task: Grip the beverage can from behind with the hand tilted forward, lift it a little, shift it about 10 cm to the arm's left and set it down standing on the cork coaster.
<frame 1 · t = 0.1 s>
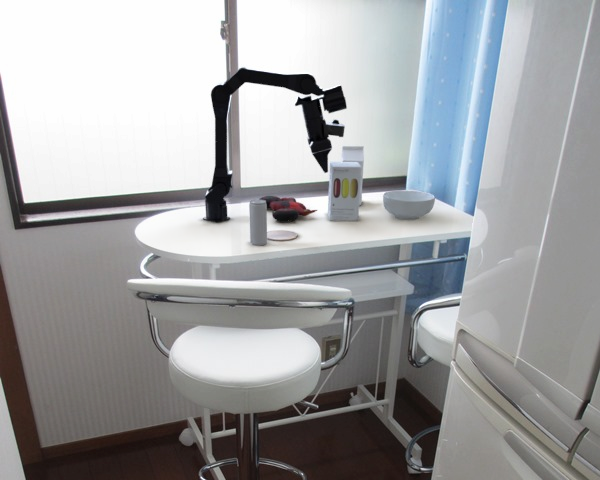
hand: (325, 169, 214), 15 cm above the table, tool pointing down, fingers open, 9 cm apart
cereal bowl: (407, 217, 225), on the table
toy motorcycle: (288, 213, 228), on the table
cork coaster: (280, 236, 204), on the table
milk carton: (350, 203, 241), on the table
supplement box: (342, 218, 224), on the table
beverage can: (258, 244, 197), on the table
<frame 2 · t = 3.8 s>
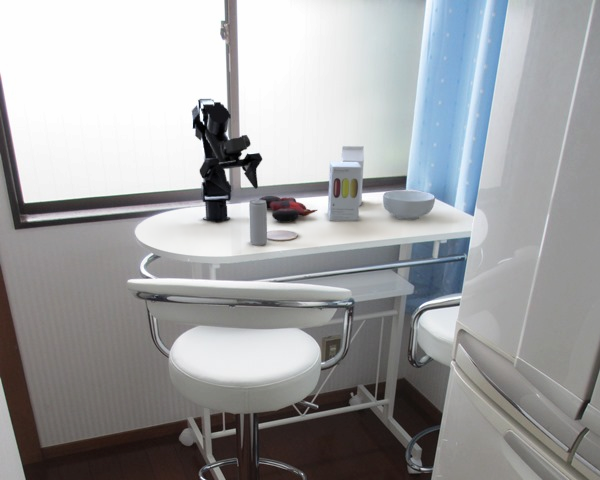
hand: (243, 190, 196), 14 cm above the table, tool tilted 45°, fingers open, 9 cm apart
nothing on the table moved.
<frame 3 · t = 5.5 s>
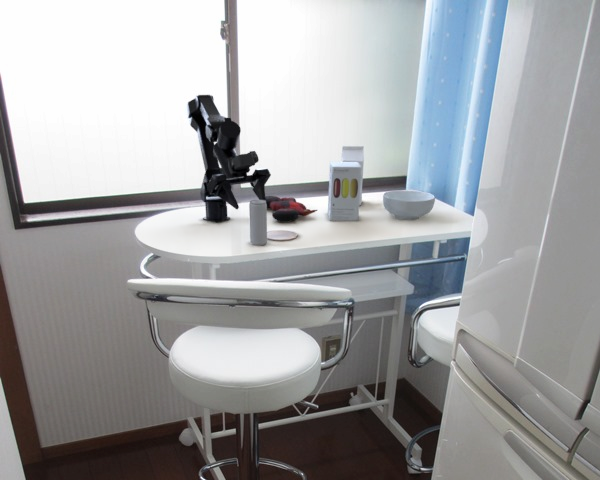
hand: (251, 206, 194), 10 cm above the table, tool tilted 45°, fingers open, 9 cm apart
nothing on the table moved.
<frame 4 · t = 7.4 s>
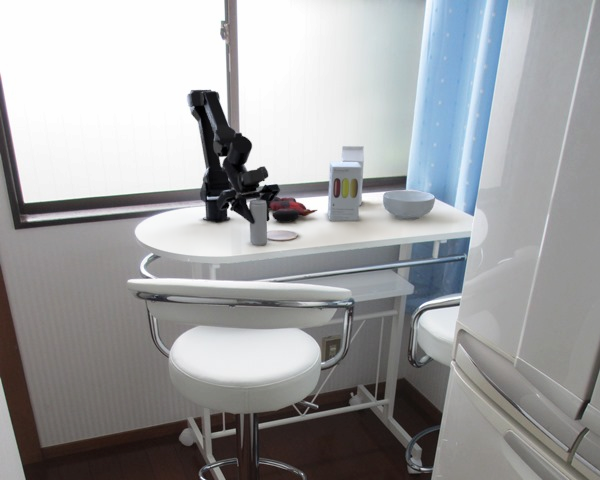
hand: (261, 221, 193), 7 cm above the table, tool tilted 45°, fingers closed on beverage can, 5 cm apart
beverage can: (258, 244, 197), on the table, touching gripper
everything else where it was.
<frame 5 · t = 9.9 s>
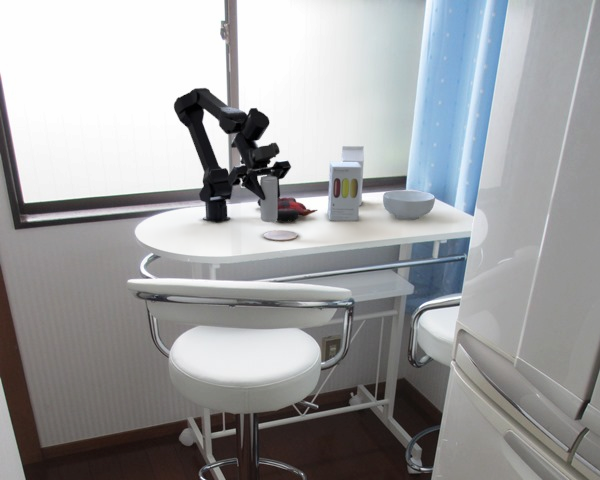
hand: (271, 198, 193), 12 cm above the table, tool tilted 45°, fingers closed on beverage can, 5 cm apart
beverage can: (269, 221, 198), point 5 cm above the table, touching gripper
everything else where it was.
when the fingers open (7 cm above the table, at t = 12.5 s): beverage can stays where it is, resting on cork coaster.
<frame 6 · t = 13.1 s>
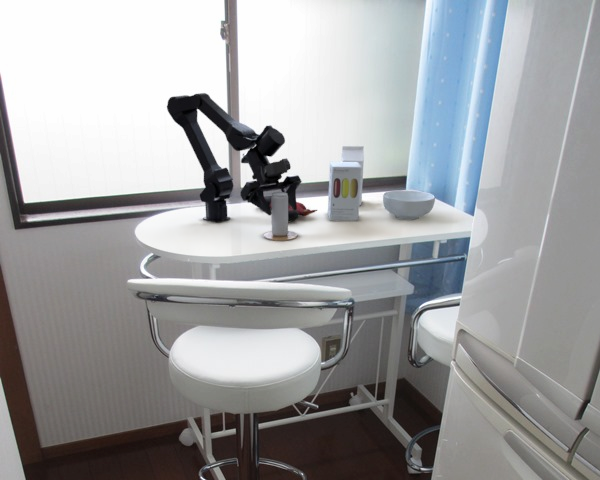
hand: (283, 212, 199), 7 cm above the table, tool tilted 45°, fingers open, 9 cm apart
beverage can: (279, 235, 204), resting on cork coaster
everything else where it was.
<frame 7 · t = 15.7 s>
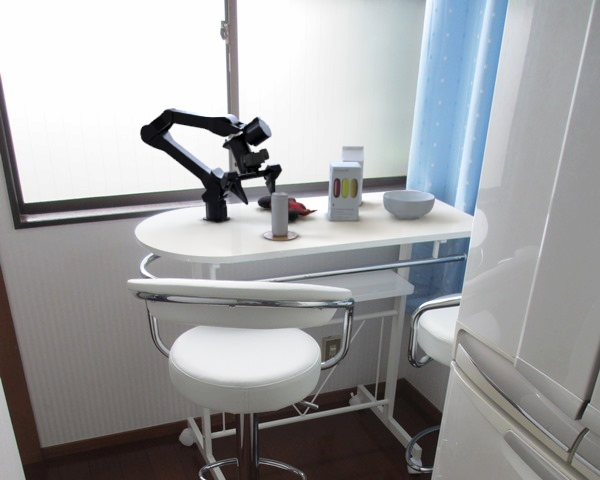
hand: (261, 201, 205), 9 cm above the table, tool tilted 40°, fingers open, 9 cm apart
nothing on the table moved.
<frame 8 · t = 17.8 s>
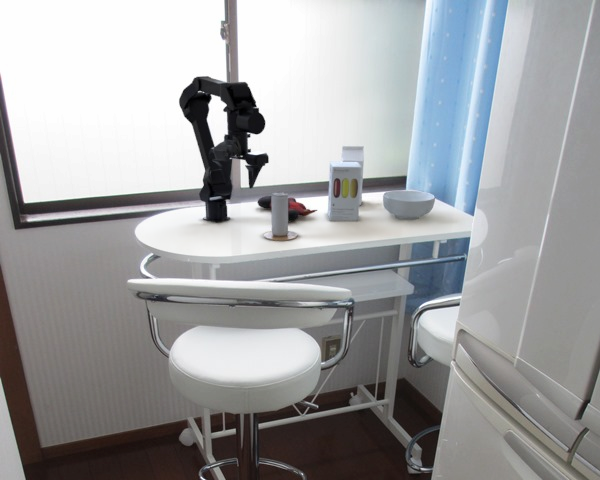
hand: (239, 186, 203), 13 cm above the table, tool pointing down, fingers open, 9 cm apart
nothing on the table moved.
at the end: beverage can 0.2 cm off-centre on the cork coaster, point 0.2 cm above the cork coaster's base; beverage can tilted 0°; the gripper is holding nothing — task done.
